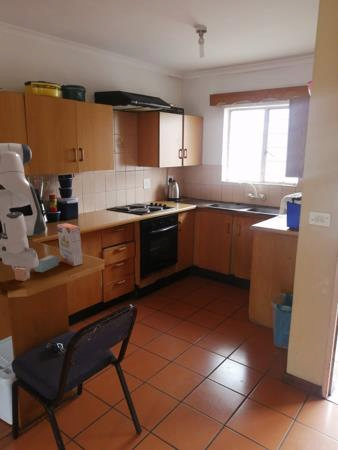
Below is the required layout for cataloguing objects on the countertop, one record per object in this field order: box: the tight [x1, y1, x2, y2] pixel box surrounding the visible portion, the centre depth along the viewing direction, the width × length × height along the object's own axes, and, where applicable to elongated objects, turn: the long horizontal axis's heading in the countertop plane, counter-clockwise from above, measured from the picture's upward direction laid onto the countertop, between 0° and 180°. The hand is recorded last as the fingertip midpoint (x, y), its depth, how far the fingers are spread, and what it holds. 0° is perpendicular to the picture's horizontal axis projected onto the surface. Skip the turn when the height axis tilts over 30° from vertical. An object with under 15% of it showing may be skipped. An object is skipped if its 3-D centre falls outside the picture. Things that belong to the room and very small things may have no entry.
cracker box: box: [56, 222, 84, 267], centre depth 186 cm, size 14×6×21 cm, turn 45°
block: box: [13, 267, 31, 282], centre depth 167 cm, size 5×4×5 cm
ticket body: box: [34, 254, 60, 273], centre depth 181 cm, size 5×12×5 cm, turn 156°
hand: (22, 274), depth 167 cm, fingers closed on block, 5 cm apart
